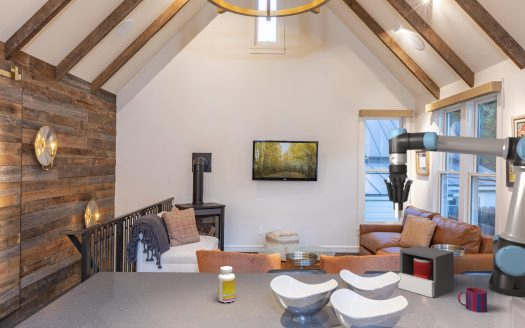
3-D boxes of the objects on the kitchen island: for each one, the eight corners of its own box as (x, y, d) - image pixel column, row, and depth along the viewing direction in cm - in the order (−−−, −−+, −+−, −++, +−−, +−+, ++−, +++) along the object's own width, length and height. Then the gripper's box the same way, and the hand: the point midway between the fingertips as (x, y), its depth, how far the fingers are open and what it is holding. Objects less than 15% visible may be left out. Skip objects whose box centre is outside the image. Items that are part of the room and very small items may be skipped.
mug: (490, 312, 133) (490, 293, 133) (461, 312, 134) (461, 292, 134) (481, 305, 140) (481, 287, 140) (453, 305, 141) (453, 286, 141)
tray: (451, 289, 157) (451, 275, 157) (431, 297, 148) (431, 282, 148) (417, 281, 169) (417, 267, 169) (398, 287, 160) (398, 273, 160)
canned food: (432, 288, 152) (432, 261, 153) (412, 285, 157) (411, 259, 157) (435, 283, 159) (435, 257, 159) (415, 280, 163) (415, 255, 163)
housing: (453, 290, 157) (453, 252, 157) (436, 297, 149) (435, 256, 149) (418, 281, 170) (418, 245, 170) (400, 287, 162) (399, 249, 162)
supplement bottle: (238, 300, 146) (238, 267, 146) (226, 305, 142) (225, 271, 142) (227, 296, 151) (227, 264, 151) (214, 301, 146) (214, 267, 146)
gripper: (380, 164, 168) (380, 216, 167) (406, 163, 157) (406, 220, 157) (390, 164, 172) (390, 215, 172) (416, 163, 162) (416, 218, 161)
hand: (398, 217), depth 164 cm, fingers closed
